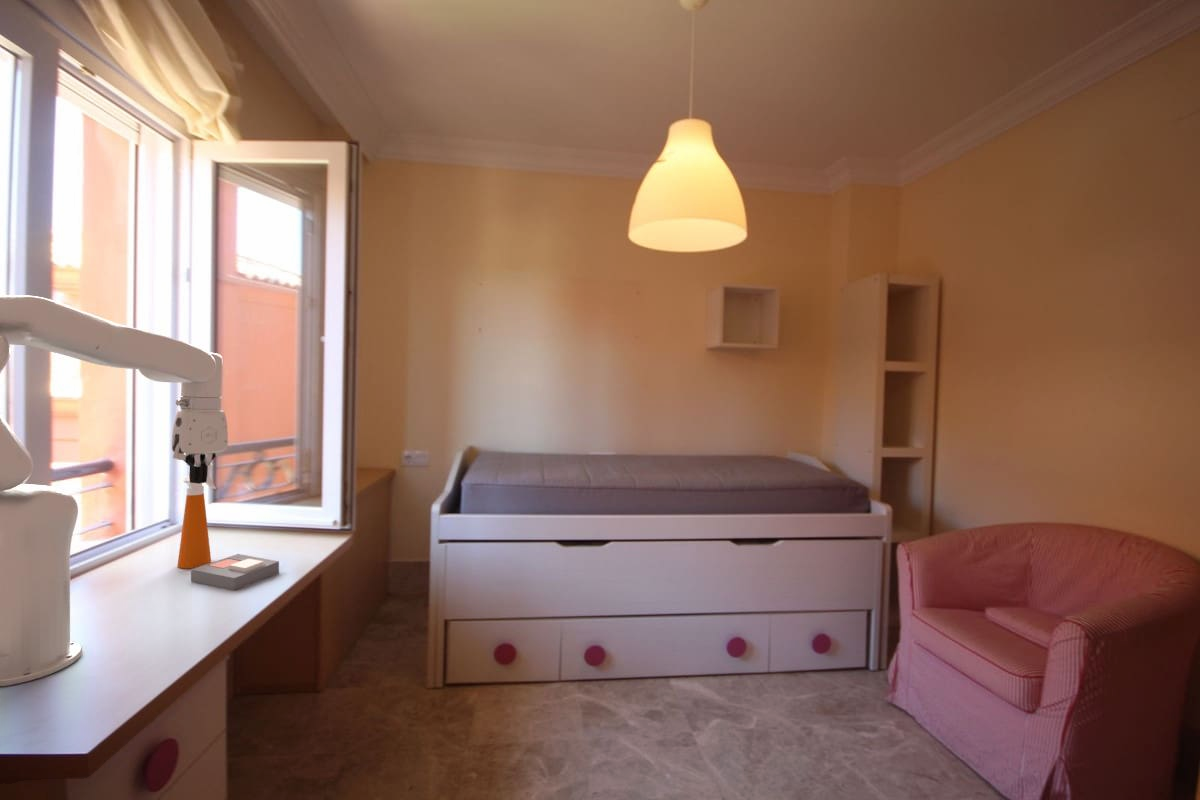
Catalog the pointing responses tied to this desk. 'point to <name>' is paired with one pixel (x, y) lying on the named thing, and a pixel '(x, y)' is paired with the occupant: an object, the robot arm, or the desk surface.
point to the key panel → (233, 573)
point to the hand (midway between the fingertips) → (198, 482)
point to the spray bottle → (195, 527)
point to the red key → (224, 563)
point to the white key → (246, 565)
